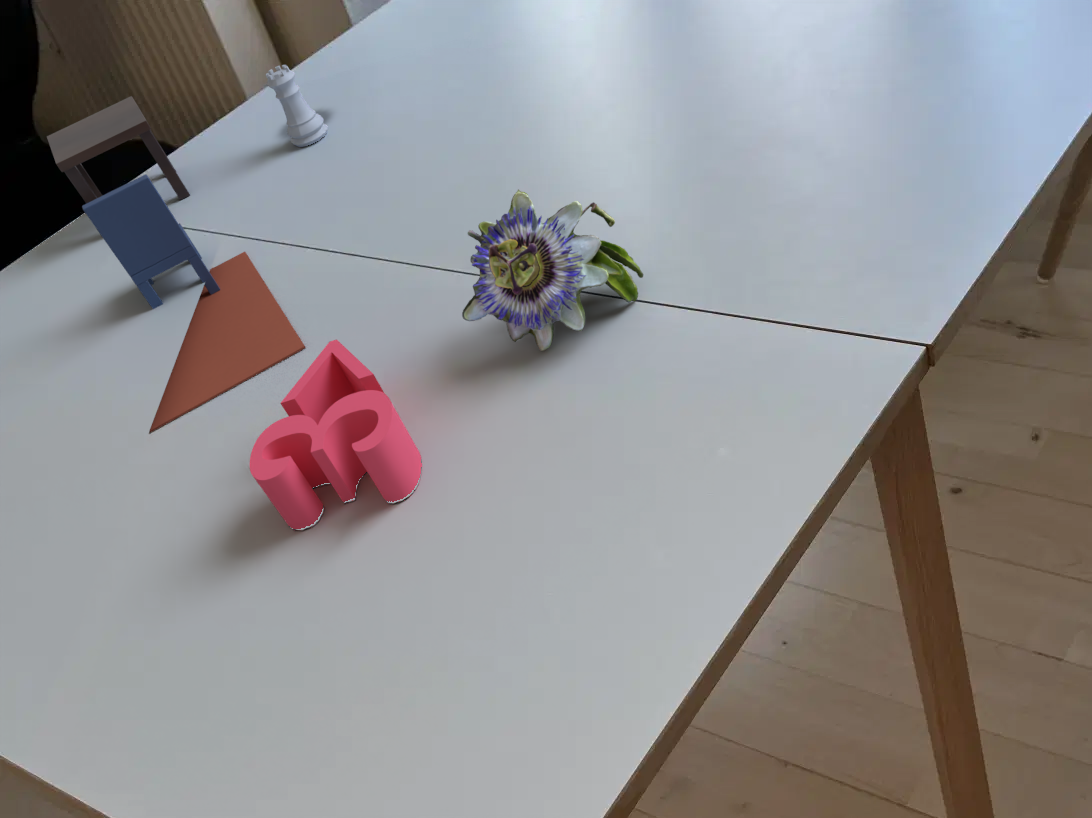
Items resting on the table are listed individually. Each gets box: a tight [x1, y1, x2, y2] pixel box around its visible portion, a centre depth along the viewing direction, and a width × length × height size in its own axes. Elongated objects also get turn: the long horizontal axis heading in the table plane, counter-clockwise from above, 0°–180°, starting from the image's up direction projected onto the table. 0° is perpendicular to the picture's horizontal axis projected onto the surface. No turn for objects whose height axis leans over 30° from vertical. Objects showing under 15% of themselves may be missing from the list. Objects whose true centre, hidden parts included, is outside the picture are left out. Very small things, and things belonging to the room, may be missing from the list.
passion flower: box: [461, 189, 644, 352], centre depth 83 cm, size 11×11×12 cm
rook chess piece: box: [265, 64, 329, 148], centre depth 121 cm, size 4×4×8 cm
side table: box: [46, 95, 191, 204], centre depth 121 cm, size 10×10×9 cm
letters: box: [249, 339, 423, 530], centre depth 78 cm, size 14×10×5 cm
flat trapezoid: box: [148, 251, 307, 433], centre depth 98 cm, size 22×14×1 cm, turn 30°
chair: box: [81, 174, 220, 310], centre depth 100 cm, size 6×6×12 cm
